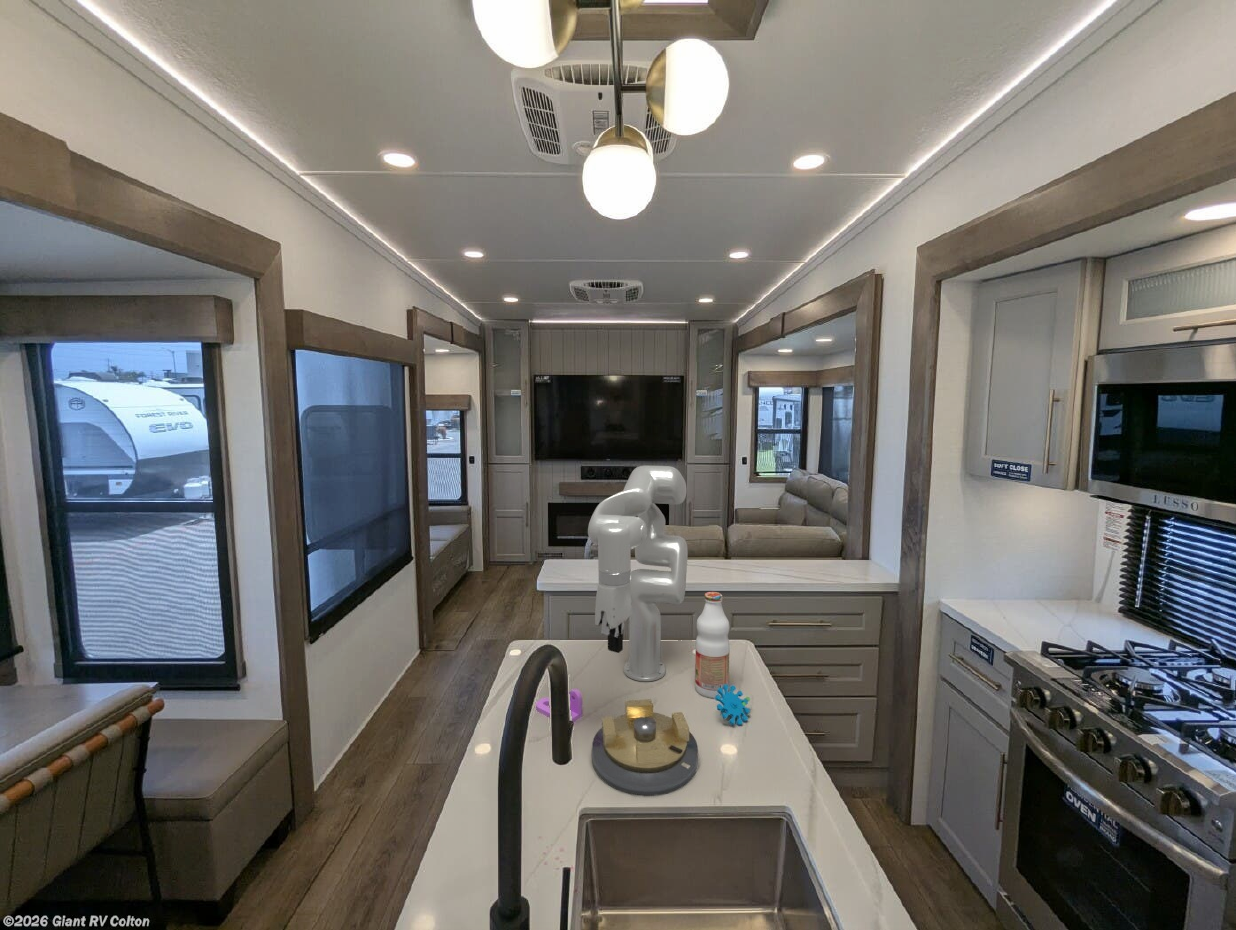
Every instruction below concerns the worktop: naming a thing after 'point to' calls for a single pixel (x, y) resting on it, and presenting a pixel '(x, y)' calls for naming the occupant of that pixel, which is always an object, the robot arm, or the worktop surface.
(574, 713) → the bracket
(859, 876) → the worktop surface
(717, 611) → the fruit juice
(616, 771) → the cap flange
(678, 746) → the four-jaw chuck
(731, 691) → the gear
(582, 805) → the worktop surface
